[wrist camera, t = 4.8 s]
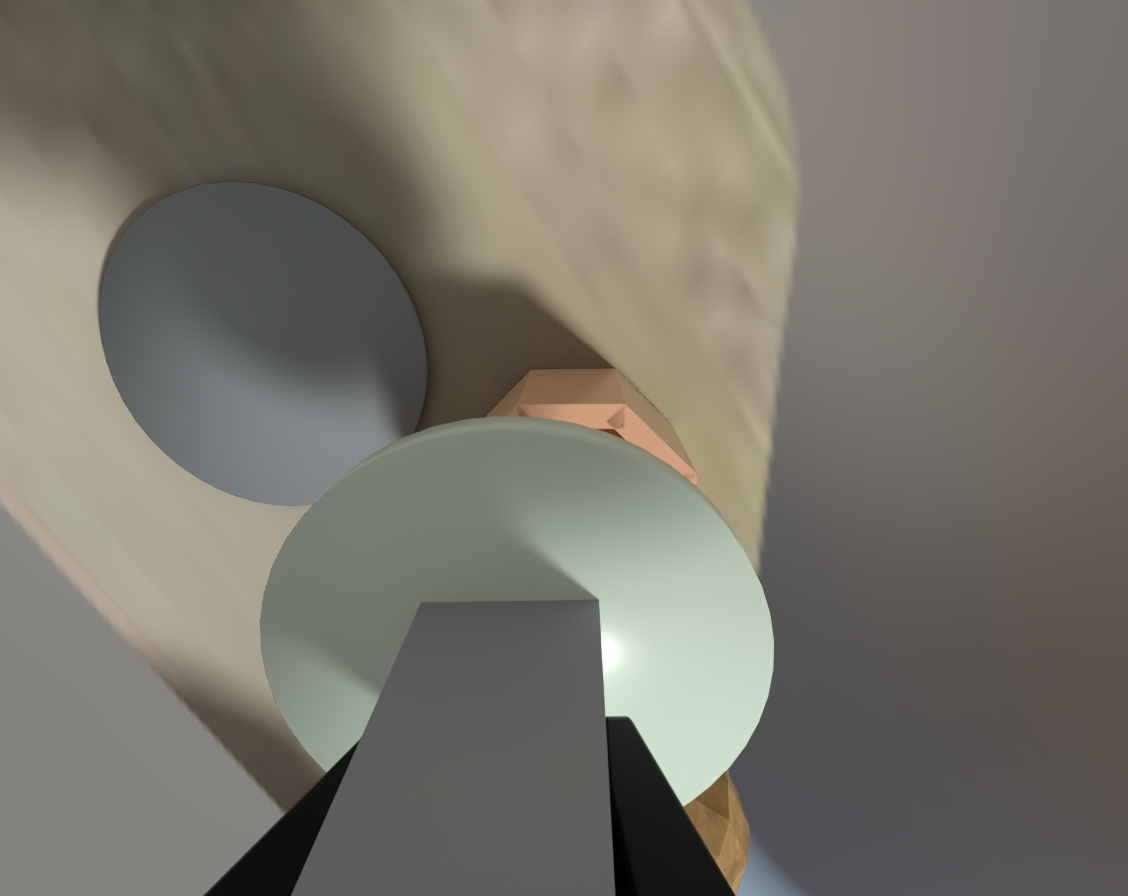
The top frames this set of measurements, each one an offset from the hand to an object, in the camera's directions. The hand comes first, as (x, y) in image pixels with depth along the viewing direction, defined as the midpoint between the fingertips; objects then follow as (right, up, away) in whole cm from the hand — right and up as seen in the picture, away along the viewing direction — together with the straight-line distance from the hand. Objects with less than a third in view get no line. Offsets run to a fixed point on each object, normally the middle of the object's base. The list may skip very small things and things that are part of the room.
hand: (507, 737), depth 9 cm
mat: (-9, +8, +11) cm, 16 cm away
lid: (0, +1, +2) cm, 2 cm away
